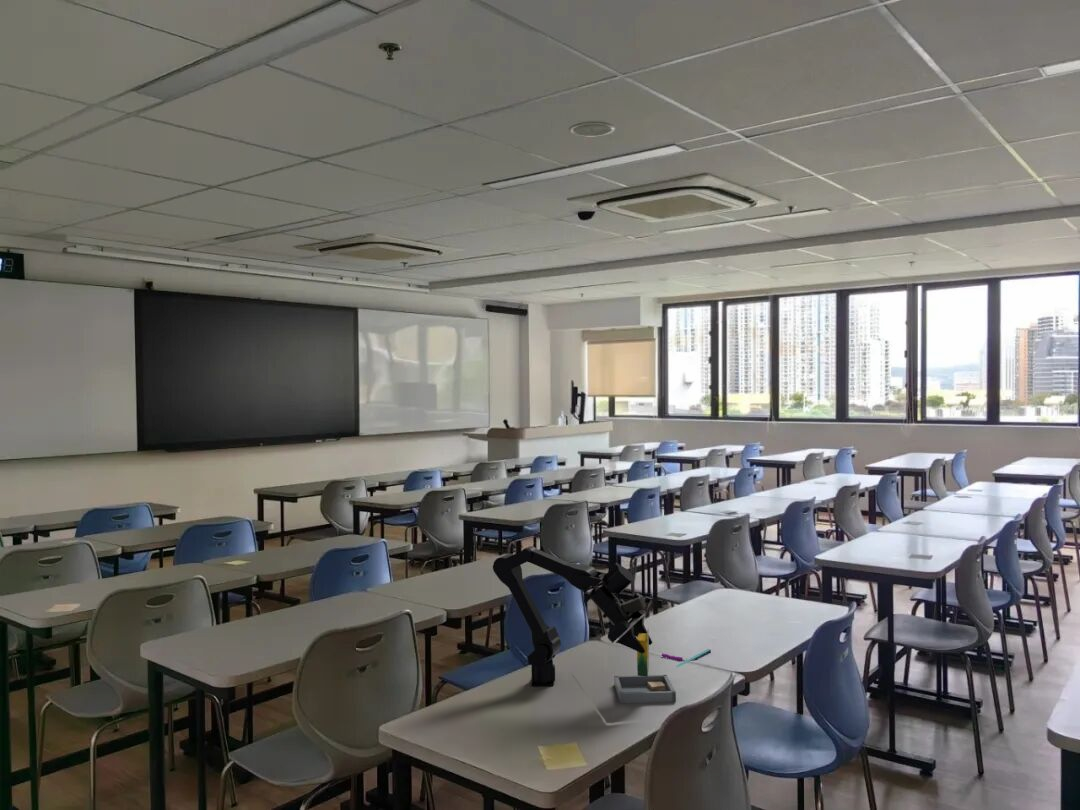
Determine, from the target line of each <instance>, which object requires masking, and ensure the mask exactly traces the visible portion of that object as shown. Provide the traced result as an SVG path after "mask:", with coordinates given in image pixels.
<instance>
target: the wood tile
mask: <svg viewBox="0 0 1080 810" xmlns="http://www.w3.org/2000/svg"><path fill="white" fill-rule="evenodd" d="M647 686H648V687H649V688H650V689H651V691H660V690H666V685H665V684H664V683H663V682H662V681H653V682H647Z"/></svg>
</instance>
